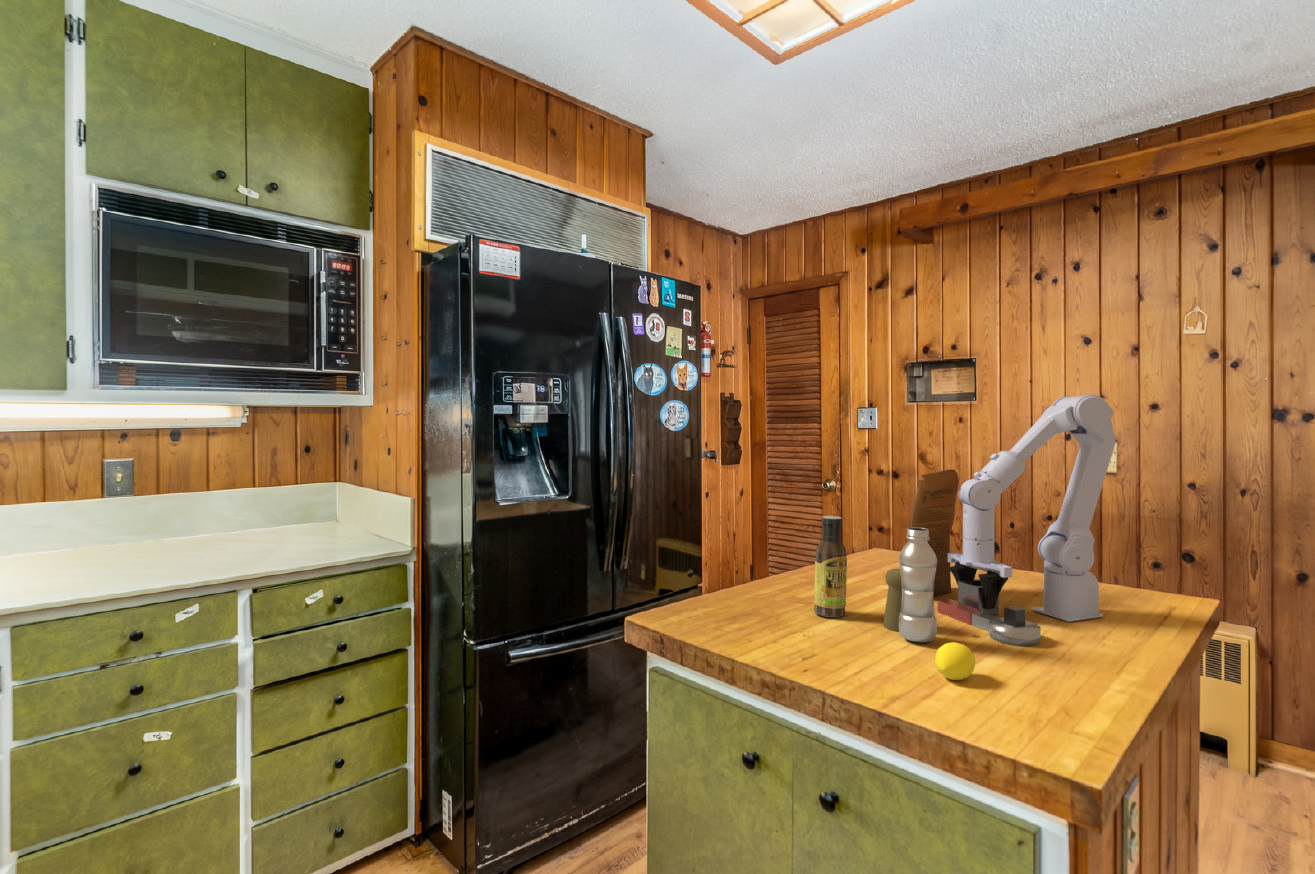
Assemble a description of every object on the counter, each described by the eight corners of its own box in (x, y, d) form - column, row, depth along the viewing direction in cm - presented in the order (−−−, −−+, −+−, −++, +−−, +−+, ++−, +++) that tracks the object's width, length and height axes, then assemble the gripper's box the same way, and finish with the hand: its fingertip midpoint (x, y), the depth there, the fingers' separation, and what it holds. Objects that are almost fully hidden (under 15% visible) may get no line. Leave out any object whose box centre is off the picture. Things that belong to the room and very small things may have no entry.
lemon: (962, 692, 91) (960, 657, 90) (927, 680, 95) (925, 647, 95) (985, 674, 95) (983, 640, 94) (950, 663, 99) (948, 631, 99)
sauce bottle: (827, 620, 122) (827, 520, 122) (807, 611, 128) (807, 515, 127) (853, 616, 125) (853, 518, 124) (833, 608, 130) (833, 513, 130)
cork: (920, 633, 115) (920, 574, 114) (885, 631, 116) (885, 572, 116) (913, 622, 121) (913, 566, 120) (880, 620, 122) (880, 565, 122)
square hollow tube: (977, 607, 130) (977, 579, 130) (998, 614, 125) (998, 585, 125) (957, 609, 128) (958, 581, 128) (978, 617, 123) (978, 587, 123)
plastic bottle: (935, 635, 113) (935, 526, 113) (939, 648, 107) (939, 533, 106) (897, 632, 115) (897, 525, 115) (898, 644, 109) (899, 531, 108)
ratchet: (958, 609, 129) (958, 582, 129) (1051, 643, 109) (1051, 612, 109) (927, 613, 126) (927, 586, 126) (1016, 648, 107) (1016, 616, 106)
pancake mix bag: (969, 590, 143) (969, 469, 142) (920, 604, 132) (920, 473, 132) (941, 584, 149) (941, 467, 148) (892, 597, 138) (893, 471, 137)
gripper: (936, 533, 132) (935, 596, 132) (992, 546, 118) (992, 617, 119) (962, 531, 134) (962, 593, 135) (1020, 543, 120) (1020, 613, 121)
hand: (978, 604), depth 127 cm, fingers closed on square hollow tube, 5 cm apart
